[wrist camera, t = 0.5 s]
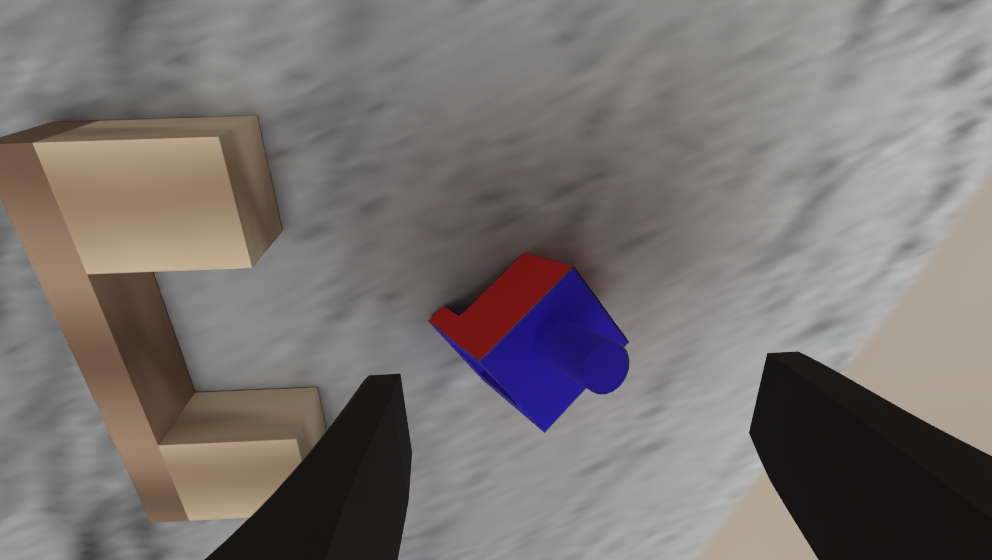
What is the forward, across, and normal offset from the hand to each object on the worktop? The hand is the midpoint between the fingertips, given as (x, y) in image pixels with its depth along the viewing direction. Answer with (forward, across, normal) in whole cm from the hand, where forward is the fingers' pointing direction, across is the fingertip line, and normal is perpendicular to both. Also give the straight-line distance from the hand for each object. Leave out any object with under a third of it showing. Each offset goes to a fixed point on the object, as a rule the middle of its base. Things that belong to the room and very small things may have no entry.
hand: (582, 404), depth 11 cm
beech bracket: (+10, +12, +3) cm, 16 cm away
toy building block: (+10, 0, +4) cm, 11 cm away
